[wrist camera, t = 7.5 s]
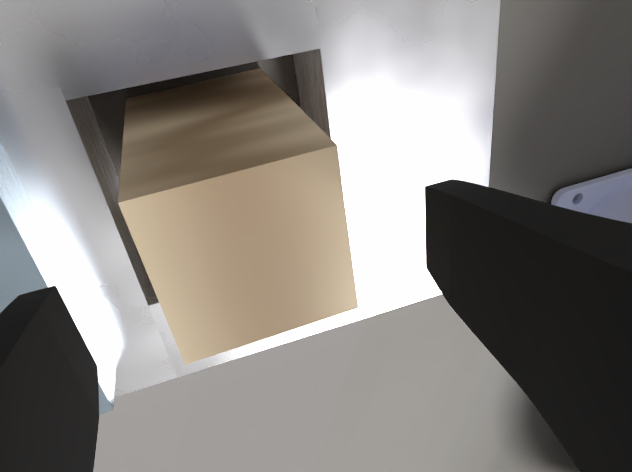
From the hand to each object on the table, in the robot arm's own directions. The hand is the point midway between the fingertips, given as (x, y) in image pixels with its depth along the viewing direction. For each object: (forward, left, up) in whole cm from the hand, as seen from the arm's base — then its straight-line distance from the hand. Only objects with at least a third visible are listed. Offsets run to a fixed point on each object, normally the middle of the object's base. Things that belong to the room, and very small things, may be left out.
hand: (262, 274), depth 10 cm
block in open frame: (0, 0, -7) cm, 7 cm away
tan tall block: (0, 0, -7) cm, 7 cm away
